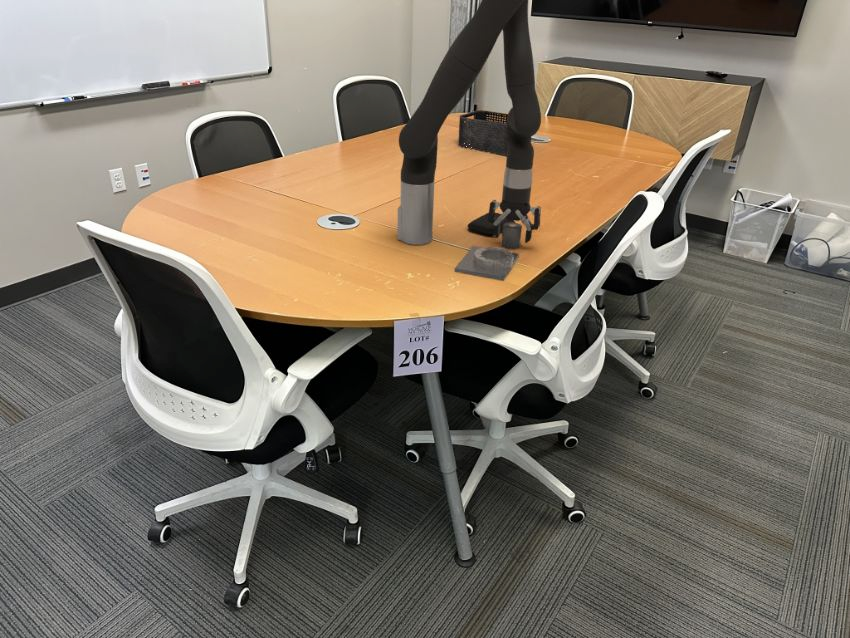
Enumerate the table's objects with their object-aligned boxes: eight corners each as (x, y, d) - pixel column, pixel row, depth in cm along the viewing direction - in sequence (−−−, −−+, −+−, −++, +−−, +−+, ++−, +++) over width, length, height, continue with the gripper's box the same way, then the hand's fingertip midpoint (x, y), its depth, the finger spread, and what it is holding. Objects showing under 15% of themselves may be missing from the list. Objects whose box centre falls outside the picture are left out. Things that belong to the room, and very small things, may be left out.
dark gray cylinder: (499, 247, 172) (501, 226, 169) (503, 240, 176) (506, 220, 173) (517, 250, 170) (519, 229, 167) (521, 243, 174) (524, 223, 171)
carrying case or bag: (495, 240, 177) (519, 226, 187) (496, 230, 175) (520, 216, 186) (464, 231, 182) (489, 218, 193) (465, 222, 180) (490, 209, 191)
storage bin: (454, 146, 269) (456, 115, 263) (477, 138, 283) (479, 108, 277) (511, 158, 255) (515, 125, 249) (533, 149, 269) (536, 118, 262)
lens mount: (454, 271, 157) (455, 260, 155) (472, 249, 170) (473, 239, 168) (503, 280, 153) (504, 269, 152) (518, 257, 166) (519, 246, 165)
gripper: (488, 183, 163) (483, 240, 171) (540, 190, 159) (533, 248, 167) (495, 176, 169) (491, 231, 177) (546, 183, 165) (539, 239, 173)
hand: (511, 239), depth 172 cm, fingers open, 8 cm apart
